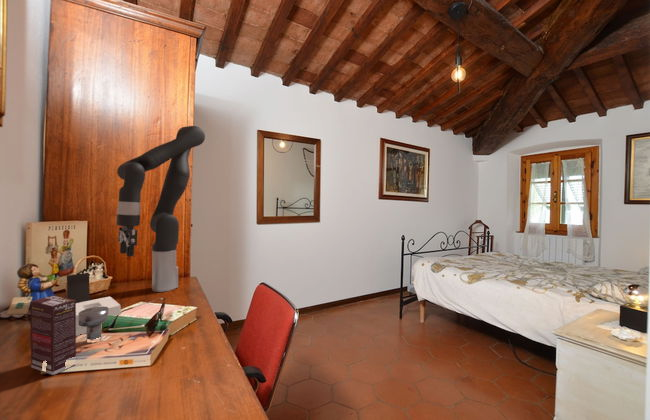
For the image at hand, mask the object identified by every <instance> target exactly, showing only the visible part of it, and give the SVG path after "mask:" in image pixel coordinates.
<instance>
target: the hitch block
mask: <svg viewBox="0 0 650 420" xmlns="http://www.w3.org/2000/svg"><path fill="white" fill-rule="evenodd" d="M101 306H103V307H108V316H109V315H121V314H122V313H121V312H122V307H121V304H120V303H119V302H117V300H115V299H114V298H113V297H111V296H105V297H100V298H96V299H90V301H85V302H80V303H76V337H79V336H81V335H80V334H82V335H84V334H87V330H86V327H83V326H79V312H81V311H83V310H85V309H88V308H93V307H101ZM121 316H122V315H121ZM101 330H103V329H102V323H101Z"/></svg>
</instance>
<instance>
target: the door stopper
mask: <svg viewBox="0 0 650 420" xmlns="http://www.w3.org/2000/svg"><path fill="white" fill-rule="evenodd" d="M90 289H91V288H90V273H89V272H86V273H77V274H70V275H66V298H68V299H73V300H76V303H80V302H85V301H90V300H91V293H90V292H91V291H90Z"/></svg>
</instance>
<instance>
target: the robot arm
mask: <svg viewBox="0 0 650 420" xmlns="http://www.w3.org/2000/svg"><path fill="white" fill-rule="evenodd" d="M205 139H206V135H205V132H204V130H203V129H202V128H201V127H200V126H197V125H187V126H182V127H180V128H179V129H178V130H177V133H176V137H175V138H174V139H172V140H170V141H168V142H165V143H162V144H159V145H157V146H155V147H153V148H151V149H149V150H147V151H146V152H143V153H142V154H141V155H138V156H137V157H134V158H132V159H130V160H127V161H126V162H123V163H122V164H120V165H119V166H118V168H117V170H116V171H117V176H118V178H120V179H121V180H123V181H124V182H123V185H122V186H121V187H120V188H119V190H118V203H117V206H116V207H117V208H116V209H117V211H116V223H115V225H116V226H118V237H117V238H118V239H117V241H118V243H119V254H125V255H126V257H134V255H135V247H136V246H138V245H137V244H138V229H135V227H138V226H140V225H141V223H140V222H141V209H142V208H141V195H142V194H141V193H142V190H143V186H144V183H145V179H146V172H148V171H152V170H155V169H157V168H158V167H161V165H164V163H165V164H166V163H167V162H168V161H169V160H170V162H169V164H168V168H167V171H166V174H165V177H164V181H163V185H162V188H161V191H160V196H159V199H158V202H157V205H156V207H155V209H154V212H153V214H152V216H151V217H150V221H149V227H150V229H151V231H152V232H153V233H155V240H154V242H153V244H152V246H151V247H152V248H151V249H152V250H151V255H152V258H151V260H152V261H151V263H152V265H151V267H152V270H151V274H152V275H151V278H152V279H151V280H152V281H151V282H152V283H151V284H152V285H151V288H152V292H155V293H156V292H157V293H159V292H160V293H161V292H168V291H173V290H175V289H176V288H179V266H177V246H178V243H179V237H180V236H179V235H180V233H179V232H180V231H179V230H180V225H179V220H178V218H177V217H176V216H175V215H174V212H175V208H176V205H177V204H178V203H179V202H178V201H179V200H180V199H181V198H182V195H183V194H184V193H185V191H186V189H187V186H188V183H189V180H190V175H191V173H190V164H189V156H190V152H191V151H192V149H194V148H195V147H198V146H201V145H203V143H204V142H205Z"/></svg>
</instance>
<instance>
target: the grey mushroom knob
mask: <svg viewBox="0 0 650 420" xmlns="http://www.w3.org/2000/svg"><path fill="white" fill-rule="evenodd" d="M107 320H108V307H103V306H101V307H93V308H88V309H85V310H83V311H81V312H79V326H83V327H86V330H87V333H86V340H87V339H96V338H99V337H101V338H102V329H101V323H104V322H106V321H107Z"/></svg>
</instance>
